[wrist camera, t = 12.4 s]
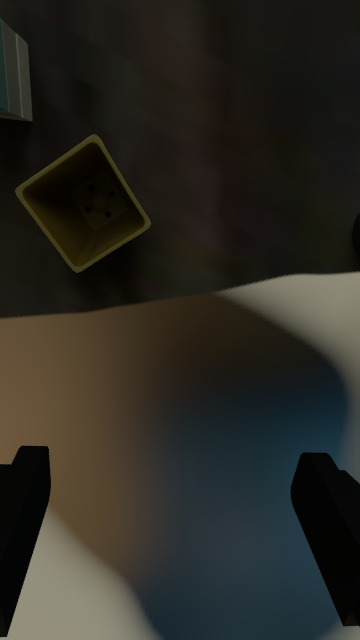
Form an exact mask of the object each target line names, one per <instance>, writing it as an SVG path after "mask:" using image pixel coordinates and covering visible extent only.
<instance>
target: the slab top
mask: <svg viewBox="0 0 360 640" xmlns="http://www.w3.org/2000/svg"><path fill="white" fill-rule="evenodd" d="M0 110H4V111H9V109H8V96H7V84H6V72H5V60H4V48H3V35H2V23H1V17H0Z"/></svg>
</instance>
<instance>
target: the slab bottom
mask: <svg viewBox="0 0 360 640" xmlns="http://www.w3.org/2000/svg"><path fill="white" fill-rule="evenodd" d="M16 46H17V60H18V73H19V86H20V100H21V113H22V117H13V116H5V115H0V118H6V119H15V120H23V121H32V105H31V90H30V74H29V58H28V44H27V43H26V42H25V41H24V40H23V39H22V38H21V37H20V36H19V35H18V34H16ZM32 122H33V121H32Z"/></svg>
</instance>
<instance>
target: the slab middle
mask: <svg viewBox="0 0 360 640" xmlns="http://www.w3.org/2000/svg"><path fill="white" fill-rule="evenodd" d="M1 23H2V35H3V48H4V60H5V72H6V84H7V96H8V109H9V111H4V110H0V115H5V116H13V117H22V113H21V100H20V86H19V73H18V60H17V46H16V33H15V32H14V31H13V30H12V29H11V28H10V27H9V26H8V25H7V24H6V23H5V22H4V21H3V20H1Z"/></svg>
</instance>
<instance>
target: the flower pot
mask: <svg viewBox="0 0 360 640" xmlns="http://www.w3.org/2000/svg"><path fill="white" fill-rule="evenodd" d="M89 186H93V187H94V190H93V191H90V190H89ZM110 191H113V192H114V196H110V195H109V193H110ZM15 192H16V195H17V197H18V198H19V200H20V201H21V202H22V204H23V205H24V206H25V208H26V209H27V210H28V212H29V213H30V214H31V216H32V217H33V218H34V220H35V221H36V222H37V224H38V225H39V226H40V228H41V229H42V230H43V232H44V233H45V234H46V236H47V237H48V238H49V239H50V241H51V242H52V243H53V245H54V246H55V248H56V249H57V250H58V251H59V253H60V254H61V256H62V257H63V258H64V260H65V261H66V262H67V264H68V265H69V266H70V267H71V269H72V270H73V271H75V272H76V273H79V272H81V271H83V270H84V269H86V268H87V267H89V266H91V265H92V264H94V263H95V262H97V261H98V260H100V259H101V258H103V257H104V256H106V255H108V254H109V253H111V252H112V251H114V250H115V249H117V248H119V247H120V246H122V245H123V244H125V243H126V242H128V241H130V240H131V239H133V238H135V237H136V236H138V235H140V234H141V233H143V232H144V231H146V230H147V229H148V228H150V226H151V222H150V220H149V218H148V217H147V215H146V213H145V212H144V210H143V209H142V207H141V206H140V204H139V203H138V201H137V200H136V198H135V196H134V195H133V193H132V192H131V190H130V188H129V187H128V185H127V183H126V182H125V180H124V178H123V177H122V175H121V173H120V172H119V170H118V168H117V167H116V165H115V163H114V162H113V160H112V158H111V156H110V155H109V153H108V151H107V150H106V148H105V146H104V144H103V143H102V141H101V139H100V138H99V137H98V136H97V135H91V136H90V137H88V138H87V139H85V140H84V141H83V142H81V143H80V144H78V145H77V146H76V147H74V148H73V149H71V150H70V151H69V152H67V153H66V154H64V155H63V156H62V157H60V158H59V159H57V160H56V161H54V162H53V163H51V164H50V165H49V166H47V167H46V168H44V169H43V170H41V171H40V172H39V173H37V174H36V175H34V176H33V177H31V178H30V179H28V180H27V181H25V182H24V183H23V184H21V185H20V186H19V187H17V188H16V190H15ZM86 207H90V209H91V211H90V212H87V211H86ZM106 212H110V213H111V216H110V217H107V216H106Z"/></svg>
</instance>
